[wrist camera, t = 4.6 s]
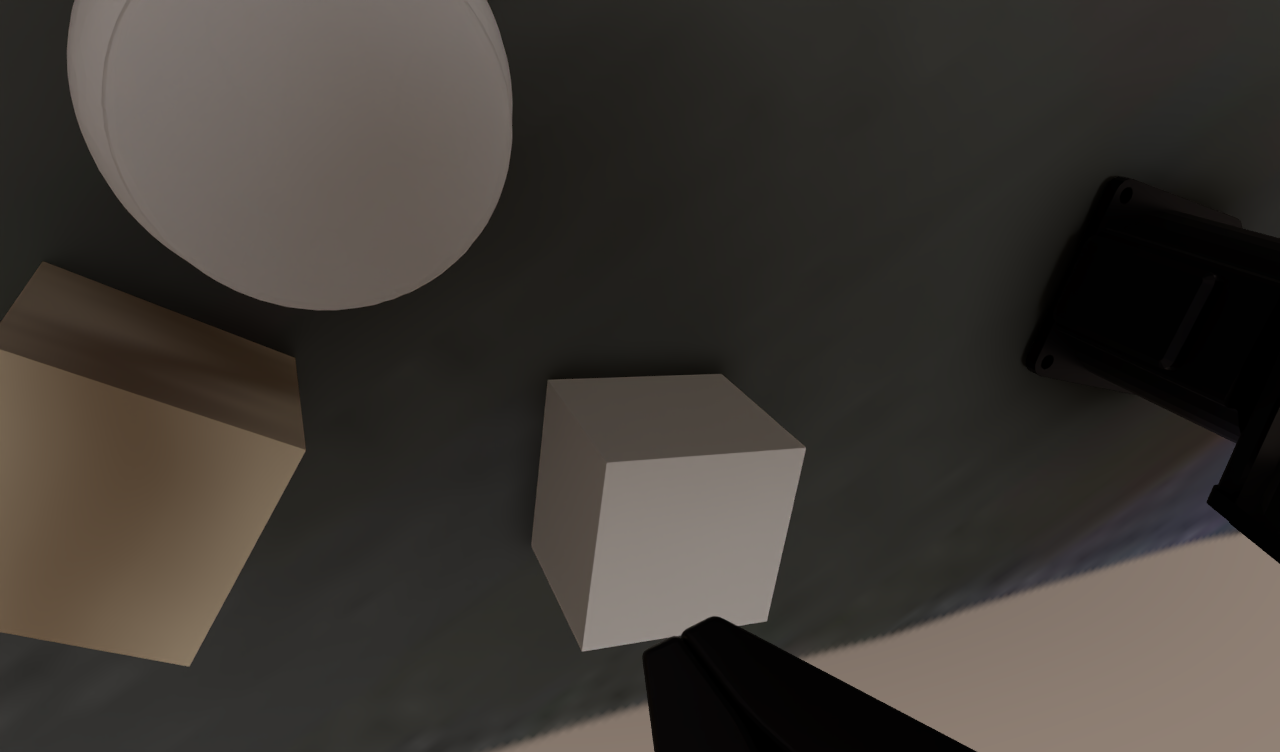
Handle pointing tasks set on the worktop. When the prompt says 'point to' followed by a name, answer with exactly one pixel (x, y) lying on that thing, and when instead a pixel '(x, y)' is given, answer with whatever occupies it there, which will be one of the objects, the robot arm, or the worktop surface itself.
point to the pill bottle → (299, 136)
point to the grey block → (660, 505)
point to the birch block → (132, 466)
